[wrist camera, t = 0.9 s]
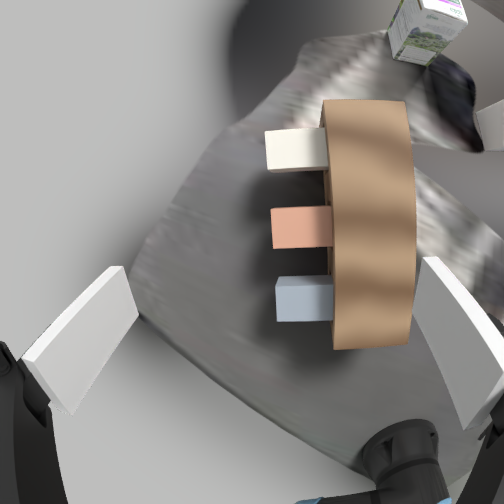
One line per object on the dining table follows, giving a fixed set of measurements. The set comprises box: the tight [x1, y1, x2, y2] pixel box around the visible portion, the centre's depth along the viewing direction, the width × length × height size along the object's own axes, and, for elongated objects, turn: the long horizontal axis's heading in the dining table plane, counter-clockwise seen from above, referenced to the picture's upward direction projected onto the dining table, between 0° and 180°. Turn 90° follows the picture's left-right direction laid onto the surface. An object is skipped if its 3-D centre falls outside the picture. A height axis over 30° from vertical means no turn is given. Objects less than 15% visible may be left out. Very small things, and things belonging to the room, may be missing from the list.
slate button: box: [275, 275, 333, 322], centre depth 32 cm, size 4×9×4 cm, turn 94°
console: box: [319, 99, 416, 350], centre depth 30 cm, size 24×8×11 cm, turn 4°
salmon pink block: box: [271, 205, 333, 249], centre depth 30 cm, size 4×9×4 cm, turn 94°
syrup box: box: [388, 0, 468, 66], centre depth 22 cm, size 6×6×14 cm
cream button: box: [265, 128, 329, 173], centre depth 29 cm, size 4×9×4 cm, turn 94°
